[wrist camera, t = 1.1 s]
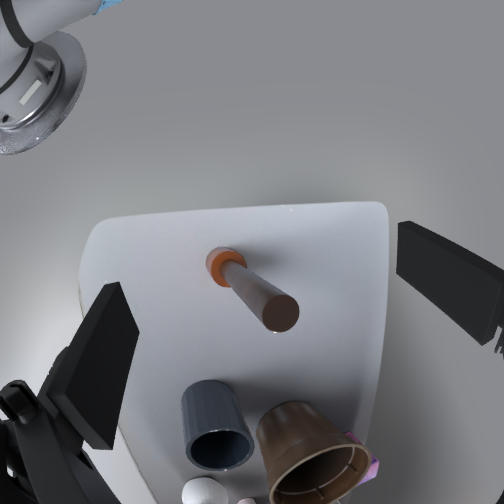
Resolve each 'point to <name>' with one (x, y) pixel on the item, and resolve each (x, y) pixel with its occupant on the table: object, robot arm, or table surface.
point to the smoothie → (247, 501)
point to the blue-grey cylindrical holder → (214, 427)
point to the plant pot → (308, 456)
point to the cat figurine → (204, 492)
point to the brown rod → (253, 290)
